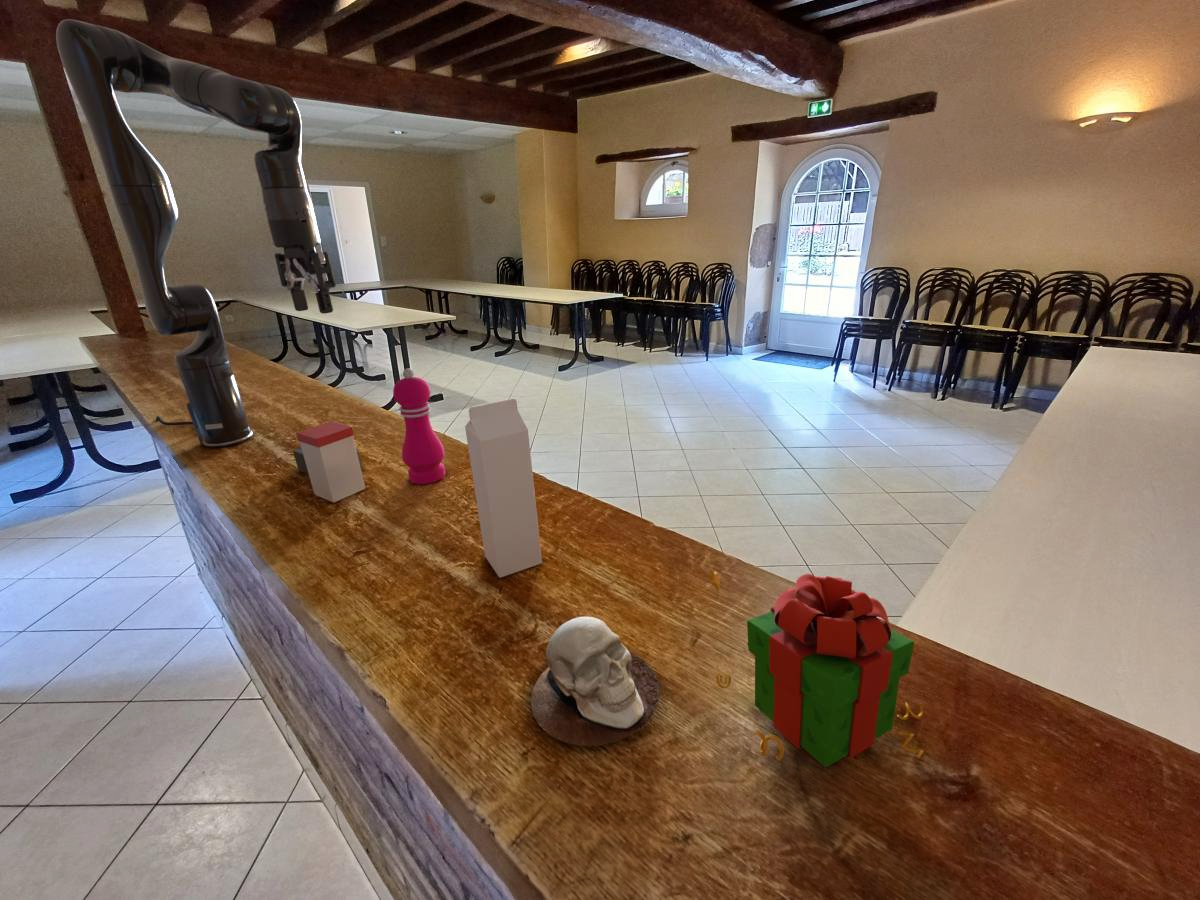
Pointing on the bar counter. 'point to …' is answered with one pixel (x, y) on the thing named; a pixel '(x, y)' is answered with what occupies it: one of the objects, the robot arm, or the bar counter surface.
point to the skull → (592, 686)
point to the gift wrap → (827, 669)
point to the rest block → (302, 464)
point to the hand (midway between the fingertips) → (314, 311)
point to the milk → (504, 486)
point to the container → (331, 460)
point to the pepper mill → (418, 430)
